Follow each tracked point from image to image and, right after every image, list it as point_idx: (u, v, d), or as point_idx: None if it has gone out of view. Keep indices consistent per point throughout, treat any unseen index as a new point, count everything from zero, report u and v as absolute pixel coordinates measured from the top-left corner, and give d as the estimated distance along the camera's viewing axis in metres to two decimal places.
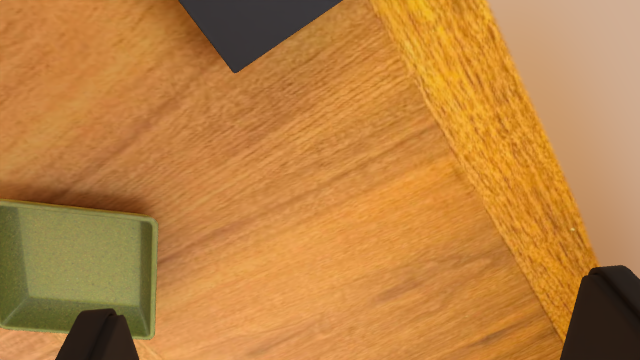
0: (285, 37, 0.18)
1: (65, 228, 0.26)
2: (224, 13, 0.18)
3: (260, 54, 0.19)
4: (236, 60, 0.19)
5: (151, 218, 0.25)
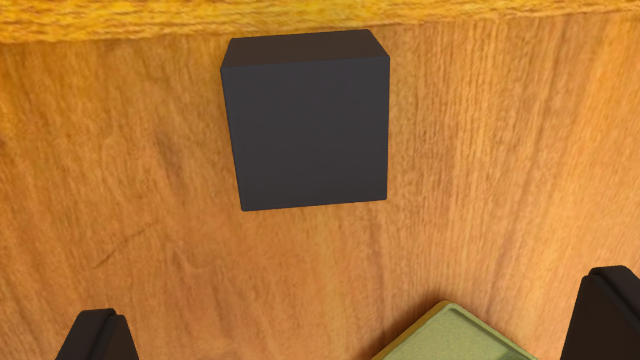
0: (386, 146, 0.19)
1: (408, 351, 0.30)
2: (337, 181, 0.19)
3: (385, 172, 0.19)
4: (377, 192, 0.20)
5: (448, 305, 0.27)
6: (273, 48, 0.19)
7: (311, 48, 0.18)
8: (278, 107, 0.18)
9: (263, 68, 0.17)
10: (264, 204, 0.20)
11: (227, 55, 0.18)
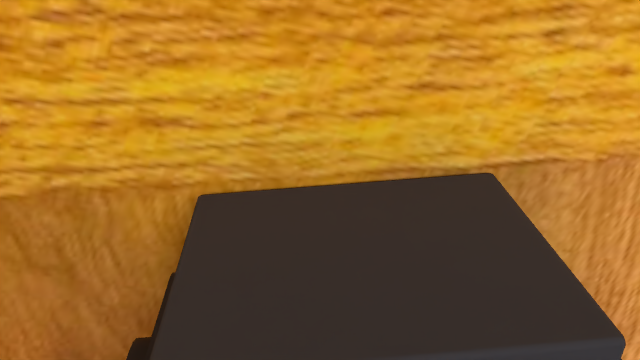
0: None
1: None
2: None
3: None
4: None
5: None
6: (292, 258, 0.08)
7: (387, 266, 0.07)
8: None
9: None
10: None
11: (176, 292, 0.07)
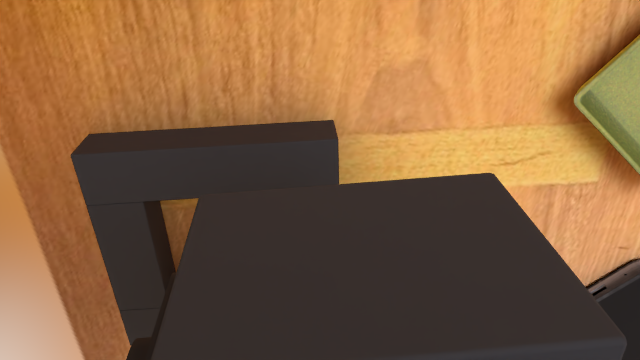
0: None
1: (638, 67, 0.25)
2: None
3: None
4: None
5: None
6: (293, 257, 0.08)
7: (388, 266, 0.07)
8: None
9: None
10: None
11: (177, 291, 0.07)
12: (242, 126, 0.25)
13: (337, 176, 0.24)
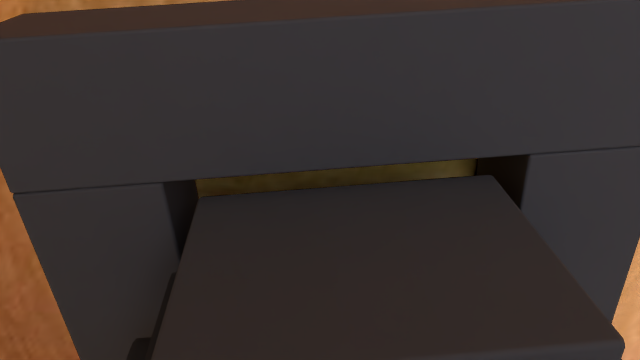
0: None
1: None
2: None
3: None
4: None
5: None
6: (292, 259, 0.08)
7: (387, 268, 0.07)
8: None
9: None
10: None
11: (177, 293, 0.07)
12: None
13: None
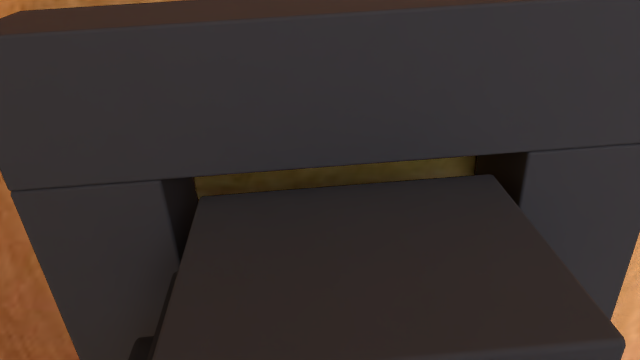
0: None
1: None
2: None
3: None
4: None
5: None
6: (293, 259, 0.08)
7: (388, 267, 0.07)
8: None
9: None
10: None
11: (178, 293, 0.07)
12: None
13: None
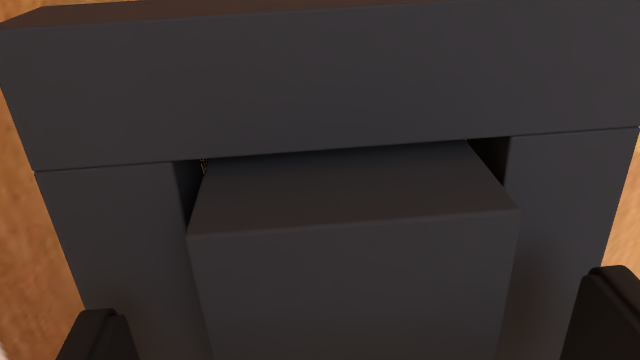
0: (495, 350, 0.10)
1: None
2: None
3: None
4: None
5: None
6: (289, 170, 0.10)
7: (359, 174, 0.10)
8: (299, 299, 0.09)
9: (270, 236, 0.08)
10: None
11: (203, 190, 0.10)
12: None
13: None
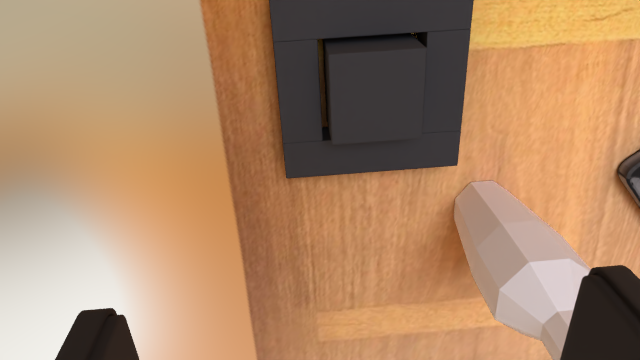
0: (422, 103, 0.31)
1: None
2: (392, 125, 0.32)
3: (421, 120, 0.32)
4: (416, 133, 0.32)
5: None
6: (354, 43, 0.31)
7: (378, 43, 0.31)
8: (360, 78, 0.30)
9: (353, 55, 0.29)
10: (346, 140, 0.32)
11: (328, 47, 0.30)
12: None
13: (471, 16, 0.31)
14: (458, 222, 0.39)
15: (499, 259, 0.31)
